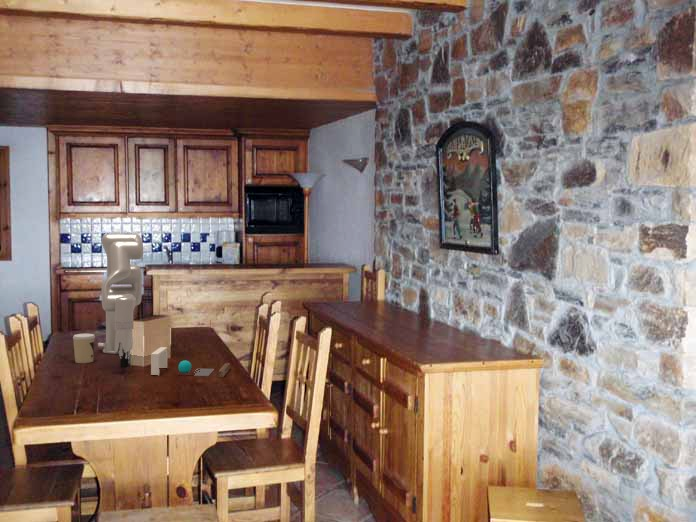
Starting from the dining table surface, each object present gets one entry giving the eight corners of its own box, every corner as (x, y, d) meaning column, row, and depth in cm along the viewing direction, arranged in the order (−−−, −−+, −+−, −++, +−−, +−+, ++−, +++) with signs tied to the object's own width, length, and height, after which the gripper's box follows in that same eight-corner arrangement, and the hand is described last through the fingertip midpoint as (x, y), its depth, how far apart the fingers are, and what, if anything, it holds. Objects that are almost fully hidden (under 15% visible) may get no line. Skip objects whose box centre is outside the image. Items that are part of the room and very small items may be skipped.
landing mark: (177, 375, 308) (177, 375, 308) (184, 368, 321) (184, 368, 321) (208, 376, 307) (208, 375, 307) (214, 369, 320) (214, 368, 320)
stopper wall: (218, 377, 306) (218, 371, 306) (225, 368, 322) (225, 363, 322) (223, 377, 306) (223, 371, 306) (229, 368, 322) (229, 363, 322)
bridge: (151, 375, 307) (151, 353, 306) (160, 367, 322) (160, 347, 321) (158, 375, 307) (158, 354, 306) (167, 367, 321) (167, 347, 321)
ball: (191, 370, 309) (180, 376, 309) (195, 368, 314) (185, 374, 315) (184, 359, 309) (174, 365, 310) (189, 357, 314) (178, 363, 315)
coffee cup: (95, 362, 329) (95, 336, 328) (73, 364, 326) (73, 337, 325) (94, 358, 338) (94, 332, 337) (73, 359, 334) (72, 333, 334)
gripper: (121, 322, 320) (121, 363, 322) (109, 328, 306) (110, 371, 307) (138, 322, 320) (138, 363, 322) (127, 328, 305) (127, 371, 307)
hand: (124, 367), depth 314 cm, fingers closed
